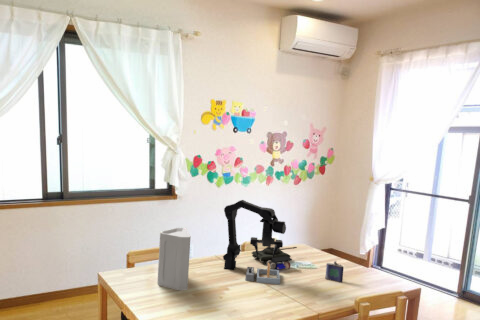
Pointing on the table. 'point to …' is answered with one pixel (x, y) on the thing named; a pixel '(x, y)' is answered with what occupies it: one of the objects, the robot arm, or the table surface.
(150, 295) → the table surface
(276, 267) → the figurine character
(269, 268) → the tan wooden block
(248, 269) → the dispenser
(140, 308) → the table surface
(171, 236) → the tall grey upright pillar
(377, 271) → the table surface
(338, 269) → the wallet
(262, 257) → the toy tank
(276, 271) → the tray
